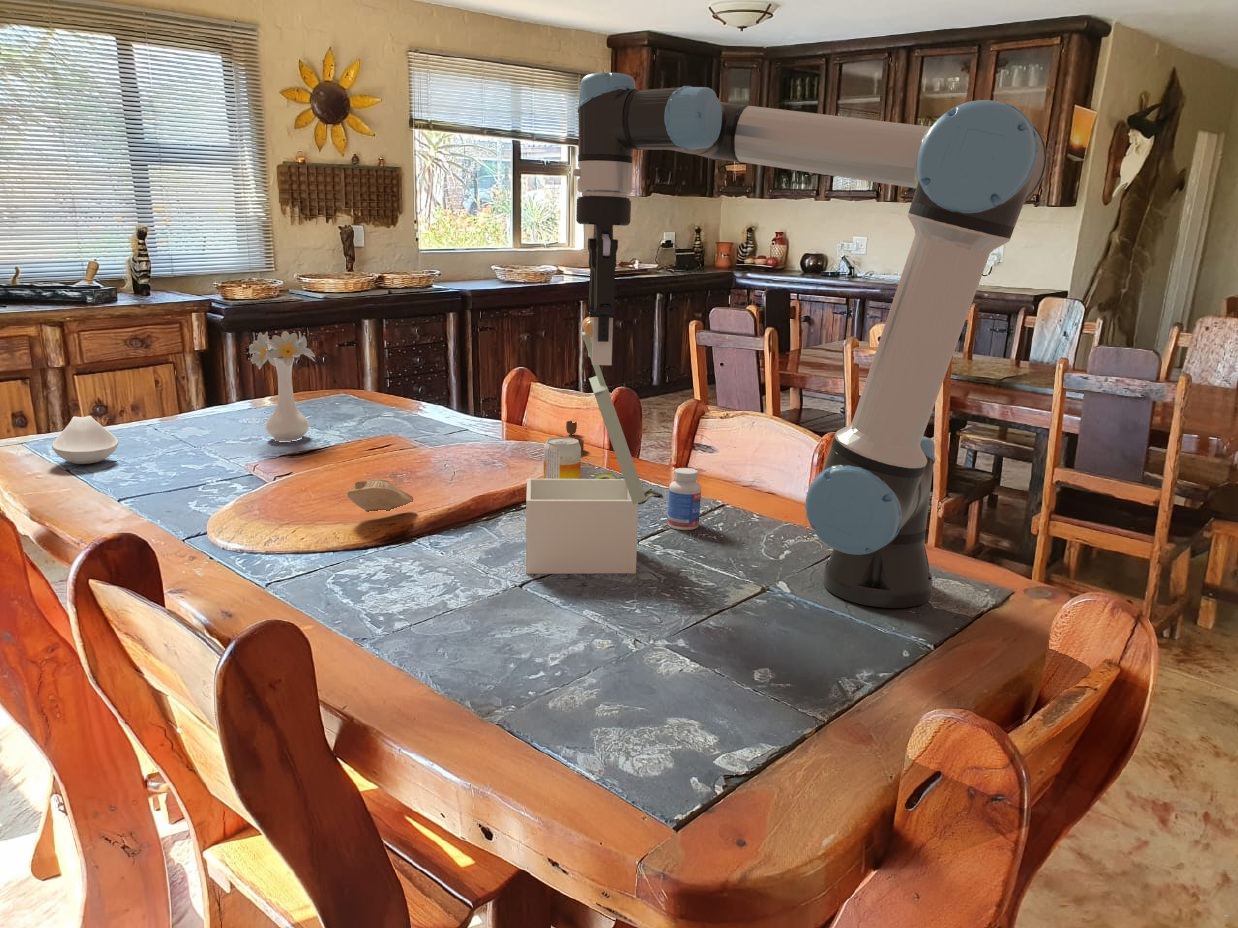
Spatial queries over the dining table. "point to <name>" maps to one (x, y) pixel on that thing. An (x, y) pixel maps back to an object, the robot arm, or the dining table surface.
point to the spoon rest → (84, 441)
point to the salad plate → (611, 476)
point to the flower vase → (283, 382)
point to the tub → (580, 526)
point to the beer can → (562, 458)
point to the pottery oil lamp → (378, 495)
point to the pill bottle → (684, 500)
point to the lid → (613, 423)
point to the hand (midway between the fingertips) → (599, 360)
